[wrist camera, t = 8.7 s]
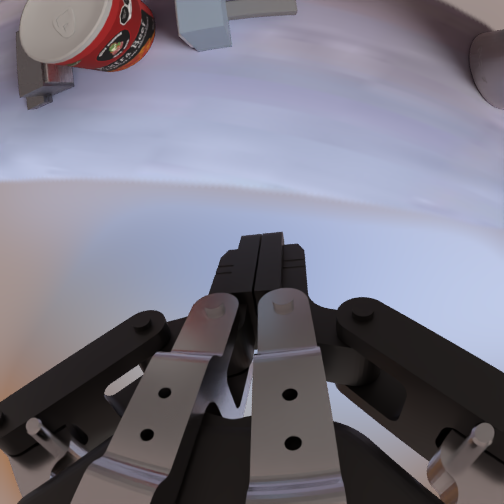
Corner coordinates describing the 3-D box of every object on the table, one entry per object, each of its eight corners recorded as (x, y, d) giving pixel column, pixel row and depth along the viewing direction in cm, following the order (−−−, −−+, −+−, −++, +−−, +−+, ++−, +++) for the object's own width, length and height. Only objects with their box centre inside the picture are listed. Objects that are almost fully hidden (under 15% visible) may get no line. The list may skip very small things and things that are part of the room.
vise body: (72, 20, 21) (42, 10, 16) (78, 91, 25) (47, 91, 20) (30, 41, 22) (-1, 37, 17) (36, 108, 25) (4, 113, 20)
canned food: (116, 88, 25) (51, 85, 15) (73, 42, 23) (3, 28, 13) (175, 31, 23) (133, -6, 13) (126, -13, 20) (72, -52, 10)
